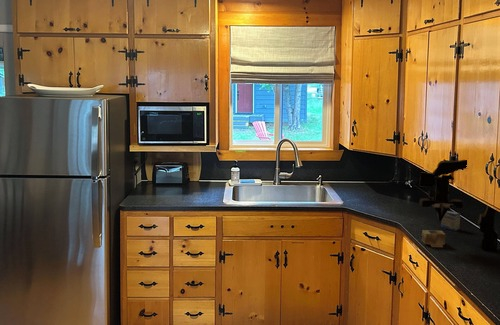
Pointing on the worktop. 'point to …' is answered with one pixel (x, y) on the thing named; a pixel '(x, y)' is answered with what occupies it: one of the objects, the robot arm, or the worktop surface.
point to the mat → (436, 245)
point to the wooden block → (433, 237)
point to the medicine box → (451, 221)
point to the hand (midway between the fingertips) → (439, 221)
